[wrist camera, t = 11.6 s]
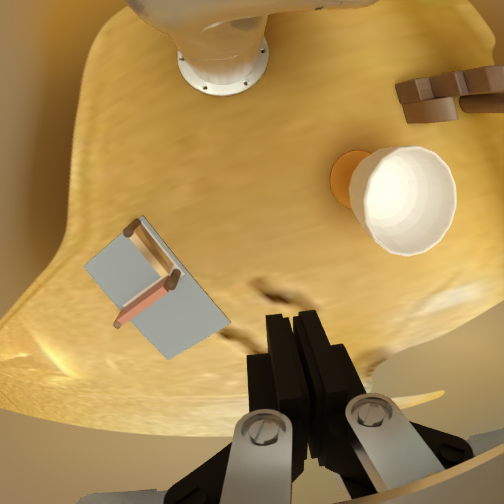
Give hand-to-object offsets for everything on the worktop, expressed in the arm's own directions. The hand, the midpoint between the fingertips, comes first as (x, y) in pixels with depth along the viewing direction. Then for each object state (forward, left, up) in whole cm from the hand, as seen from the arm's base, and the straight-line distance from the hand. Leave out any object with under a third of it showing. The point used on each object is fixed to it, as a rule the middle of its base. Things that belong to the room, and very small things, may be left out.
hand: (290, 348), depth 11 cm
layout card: (+5, -22, -37) cm, 43 cm away
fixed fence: (-1, -17, -37) cm, 40 cm away
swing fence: (+4, -23, -36) cm, 43 cm away
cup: (+8, +14, -37) cm, 41 cm away
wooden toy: (+4, +34, -37) cm, 51 cm away
